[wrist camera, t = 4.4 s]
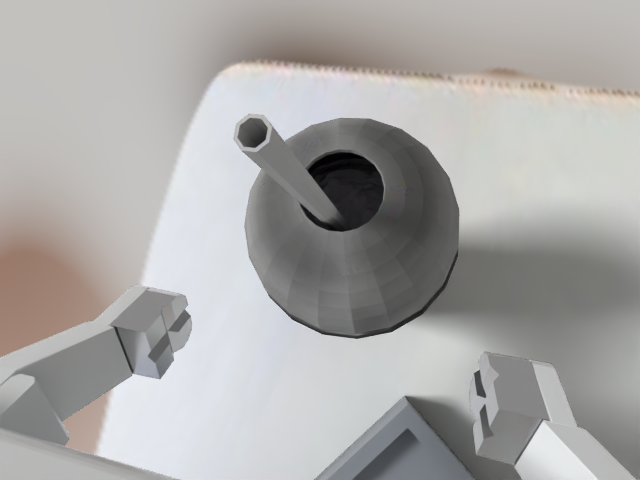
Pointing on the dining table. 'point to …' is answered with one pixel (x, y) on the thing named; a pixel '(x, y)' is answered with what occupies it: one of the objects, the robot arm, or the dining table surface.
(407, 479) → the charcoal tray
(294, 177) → the beverage cup
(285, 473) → the dining table surface
